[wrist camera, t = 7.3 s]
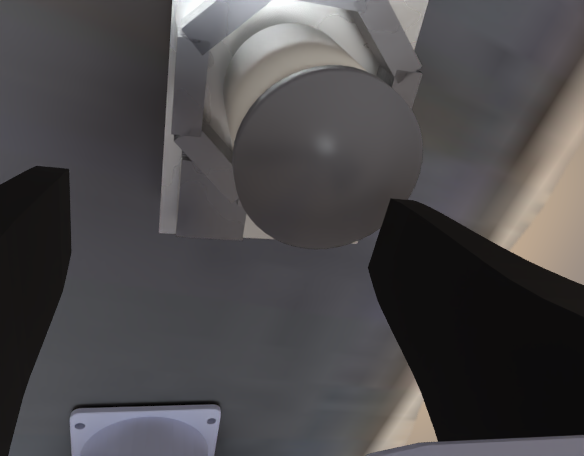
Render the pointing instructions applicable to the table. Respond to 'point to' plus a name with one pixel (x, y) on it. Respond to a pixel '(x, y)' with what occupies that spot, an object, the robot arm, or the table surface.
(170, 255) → the table surface
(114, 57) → the table surface
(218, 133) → the square housing with collar
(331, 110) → the lens
